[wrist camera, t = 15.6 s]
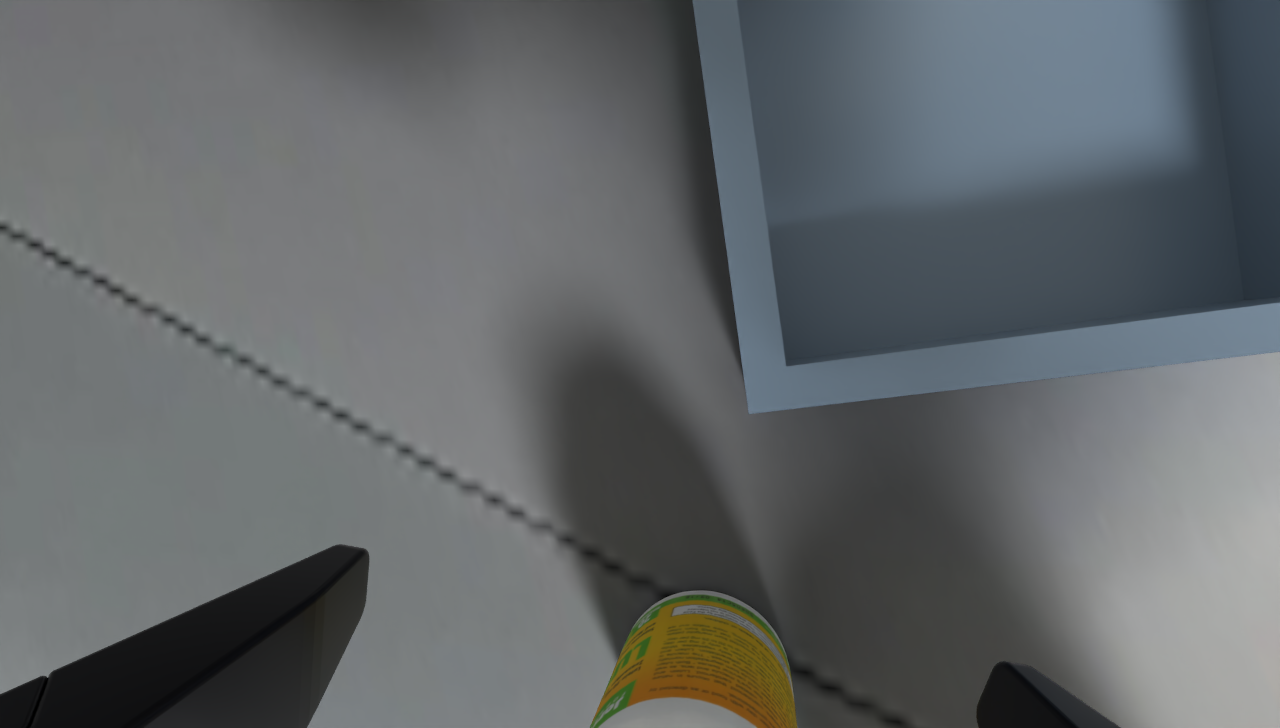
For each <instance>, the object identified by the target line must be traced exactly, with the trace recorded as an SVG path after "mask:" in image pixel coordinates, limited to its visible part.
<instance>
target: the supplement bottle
mask: <svg viewBox="0 0 1280 728" xmlns="http://www.w3.org/2000/svg"><path fill="white" fill-rule="evenodd" d="M590 728H797V721H796V712H795V703H794V694H793V685H792V677H791V672H790V667H789V663H788V659H787V655H786V652H785V650H784V647H783V645H782V643H781V641H780V639H779V637H778V636H777V634H776V632H775V631H774V629H773V628H772V627H771V625H770V624H769V623H768V622H767V621H766V619H765V618H764V617H762V616H761V615H760V614H759V613H758V612H757V611H756V610H754V609H753V608H751V607H750V606H748V605H747V604H745V603H744V602H742V601H740V600H738V599H736V598H734V597H731V596H729V595H726V594H722V593H718V592H714V591H705V590H699V591H686V592H681V593H677V594H673V595H671V596H668V597H666V598H664V599H662V600H660V601H658V602H657V603H655V604H654V605H653V606H651V607H650V608H649V609H648V610H647V611H646V612H645V613H644V614H643V615H642V616H641V617H640V618H639V619H638V620H637V622H636V623H635V625H634V626H633V628H632V630H631V632H630V634H629V636H628V638H627V640H626V642H625V644H624V646H623V649H622V651H621V654H620V656H619V659H618V661H617V664H616V666H615V668H614V671H613V673H612V676H611V678H610V681H609V683H608V686H607V688H606V690H605V693H604V695H603V698H602V700H601V702H600V705H599V707H598V709H597V712H596V714H595V717H594V719H593V721H592V724H591V726H590Z"/></svg>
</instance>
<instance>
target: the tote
mask: <svg viewBox="0 0 1280 728" xmlns="http://www.w3.org/2000/svg"><path fill="white" fill-rule="evenodd" d="M692 1H693V8H694V15H695V23H696V30H697V37H698V45H699V52H700V59H701V67H702V74H703V81H704V89H705V96H706V103H707V111H708V118H709V125H710V133H711V140H712V147H713V155H714V162H715V169H716V177H717V184H718V191H719V199H720V206H721V213H722V221H723V228H724V236H725V243H726V250H727V258H728V265H729V272H730V280H731V287H732V294H733V302H734V309H735V316H736V324H737V331H738V338H739V346H740V353H741V360H742V368H743V375H744V382H745V390H746V397H747V404H748V412H749V414H754V413H763V412H771V411H780V410H788V409H797V408H805V407H814V406H822V405H831V404H839V403H848V402H856V401H865V400H873V399H882V398H890V397H899V396H907V395H916V394H924V393H933V392H941V391H950V390H958V389H967V388H975V387H984V386H992V385H1001V384H1009V383H1018V382H1026V381H1035V380H1043V379H1052V378H1060V377H1069V376H1077V375H1086V374H1094V373H1103V372H1111V371H1120V370H1128V369H1137V368H1145V367H1154V366H1162V365H1171V364H1179V363H1188V362H1196V361H1205V360H1213V359H1222V358H1230V357H1239V356H1247V355H1256V354H1264V353H1273V352H1280V0H692Z"/></svg>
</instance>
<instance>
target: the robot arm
mask: <svg viewBox="0 0 1280 728" xmlns="http://www.w3.org/2000/svg"><path fill="white" fill-rule="evenodd" d="M368 571H369V553H368V551H367V550H366V549H364V548H359V547H353V546H348V545H342V544H339V545H335V546H332V547H330V548H328V549H326V550H323V551H321V552H319V553H317V554H314V555H312V556H310V557H308V558H306V559H303V560H301V561H299V562H297V563H294V564H292V565H290V566H288V567H285V568H283V569H281V570H279V571H276V572H274V573H272V574H270V575H267V576H265V577H263V578H261V579H258V580H256V581H254V582H252V583H249V584H247V585H245V586H243V587H240V588H238V589H236V590H234V591H232V592H229V593H227V594H225V595H223V596H220V597H218V598H216V599H214V600H211V601H209V602H207V603H205V604H202V605H200V606H198V607H196V608H193V609H191V610H189V611H187V612H184V613H182V614H180V615H178V616H175V617H173V618H171V619H169V620H166V621H164V622H162V623H160V624H158V625H155V626H153V627H151V628H149V629H146V630H144V631H142V632H140V633H137V634H135V635H133V636H131V637H128V638H126V639H124V640H122V641H119V642H117V643H115V644H113V645H110V646H108V647H106V648H104V649H101V650H99V651H97V652H95V653H92V654H90V655H88V656H86V657H83V658H81V659H79V660H77V661H74V662H72V663H70V664H68V665H65V666H63V667H61V668H59V669H56V670H54V671H53V672H51V673H50V675H49V677H48V678H47V677H46V676H40V677H38V678H36V679H34V680H31V681H29V682H27V683H25V684H22V685H20V686H18V687H16V688H13V689H11V690H9V691H7V692H5V693H2V694H0V728H307V726H308V725H309V723H310V721H311V719H312V717H313V715H314V713H315V711H316V709H317V707H318V705H319V703H320V701H321V699H322V697H323V695H324V693H325V691H326V689H327V687H328V685H329V682H330V680H331V678H332V676H333V674H334V672H335V670H336V668H337V666H338V664H339V662H340V660H341V658H342V656H343V654H344V652H345V649H346V647H347V645H348V643H349V641H350V639H351V637H352V635H353V633H354V631H355V629H356V627H357V625H358V623H359V621H360V618H361V616H362V613H363V611H364V607H365V603H366V595H367V583H368ZM977 723H978V727H979V728H1120V727H1119V726H1118V725H1116V724H1115V723H1113V722H1112V721H1110V720H1109V719H1107V718H1106V717H1104V716H1103V715H1101V714H1100V713H1099V712H1097V711H1096V710H1094V709H1093V708H1091V707H1090V706H1088V705H1087V704H1085V703H1084V702H1082V701H1081V700H1080V699H1078V698H1077V697H1075V696H1074V695H1072V694H1071V693H1069V692H1068V691H1066V690H1065V689H1063V688H1062V687H1061V686H1059V685H1058V684H1056V683H1055V682H1053V681H1052V680H1050V679H1049V678H1047V677H1046V676H1044V675H1043V674H1041V673H1040V672H1039V671H1037V670H1036V669H1034V668H1032V667H1030V666H1028V665H1024V664H1018V663H1012V662H1006V661H1002V662H999V663H997V664H996V665H995V666H994V668H993V670H992V672H991V674H990V677H989V679H988V681H987V684H986V686H985V689H984V691H983V693H982V696H981V698H980V700H979V703H978V706H977Z"/></svg>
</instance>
